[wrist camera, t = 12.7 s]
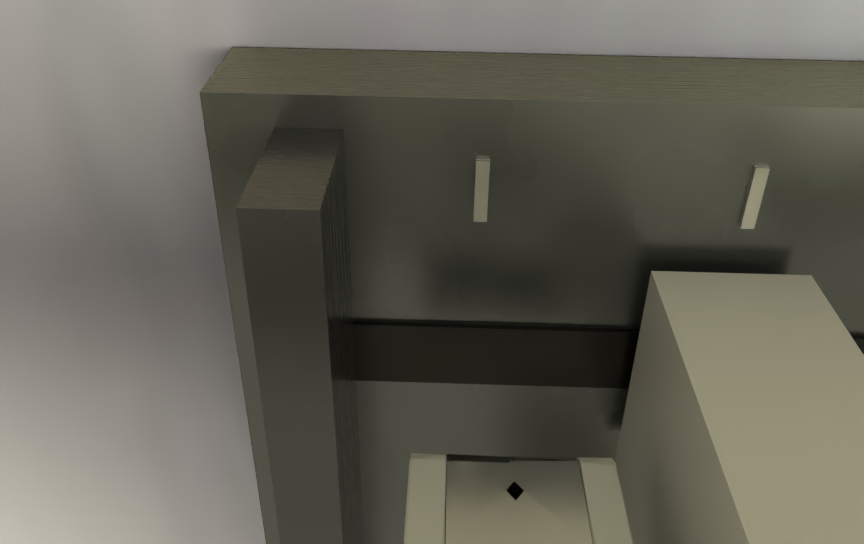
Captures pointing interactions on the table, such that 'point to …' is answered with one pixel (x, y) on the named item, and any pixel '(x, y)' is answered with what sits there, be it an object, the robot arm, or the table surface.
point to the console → (495, 245)
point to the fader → (743, 415)
